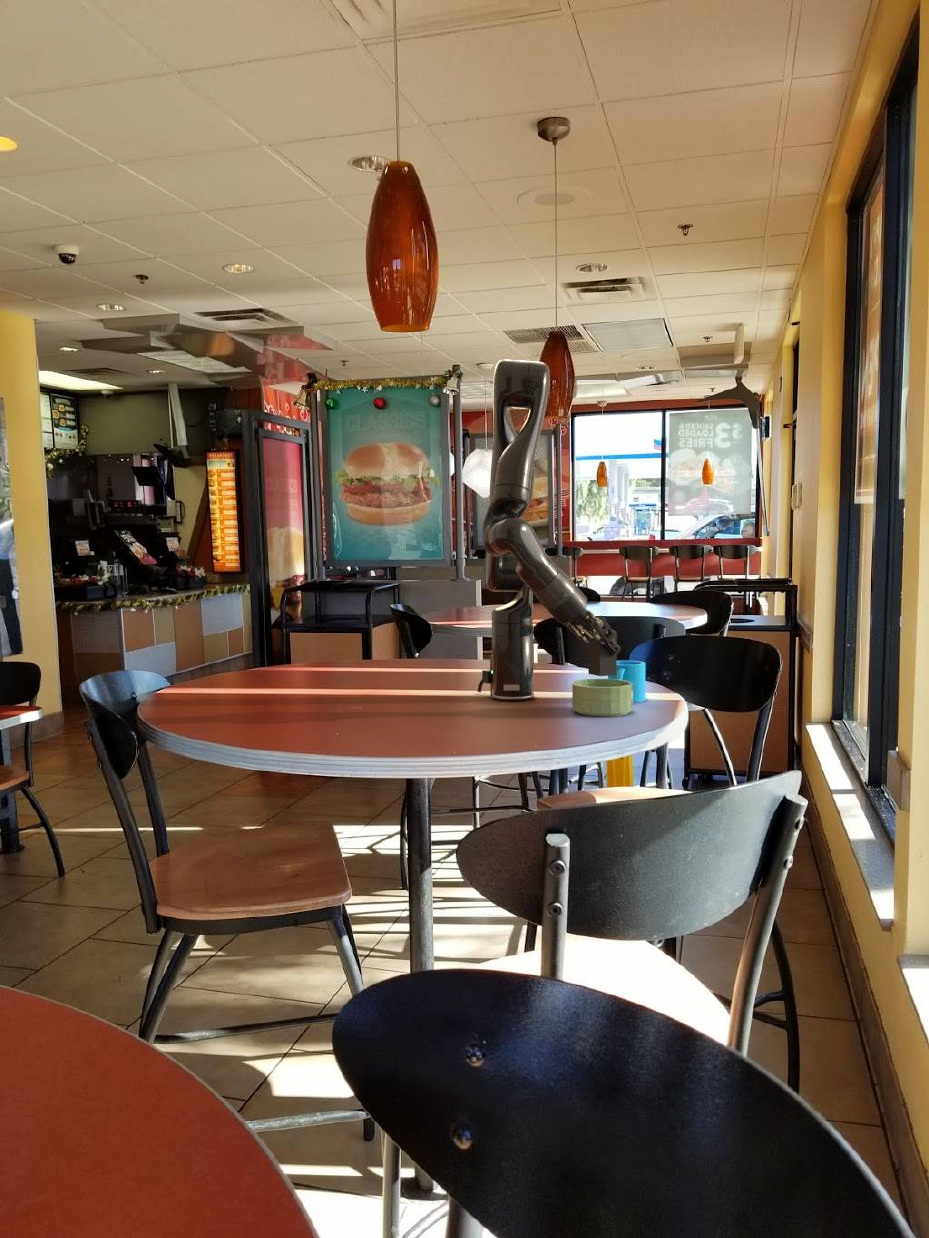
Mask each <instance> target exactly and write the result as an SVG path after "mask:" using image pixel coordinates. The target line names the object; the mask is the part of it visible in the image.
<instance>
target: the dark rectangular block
mask: <svg viewBox="0 0 929 1238" xmlns="http://www.w3.org/2000/svg"><path fill="white" fill-rule="evenodd" d="M595 631H596V630H595V629H594V630H593V631H592V633H594V632H595ZM612 631H613V632H614V634H615V635H614V636H613V637H612V639H613V640H614V641H615V642H616V643H617V644H618V642H617V636H618V635H617V633H618V632H617V630H613V629H612ZM598 636H599V634H598ZM599 637H600V636H599ZM600 638H601V637H600ZM587 647H588V648H587V651H588V652H587V653H588V655H587V656H588V657H587V659H588V662H587V663H588V665H587V666H588V667H587V671H588V673H587V674H588V675H593V676H597V677H608V676H610V675H617V661H618V659H617V658H618V657H617V656H618V655H617V656H612V655H611V654H610V653H609V652H608V650H607V649H606V648H605V647H604V646H603V645H602V644H601V643H600V642H599V641H598V640H597V639H595V638H593V639H592V638H591V637H590V636H589V635H588V644H587Z"/></svg>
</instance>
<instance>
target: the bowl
mask: <svg viewBox="0 0 929 1238" xmlns="http://www.w3.org/2000/svg"><path fill="white" fill-rule="evenodd" d="M571 697H572V698H571V706H572V707H571V709H572V710H573V711H574V712H576V713H577V714H579V715H583V716H587V717H588V716H589V717H604V718H605V717H619V716H624V715H627V714H628V713H629V712H632V711H633V710H634V703H633V683H632V682H630V681H626V680H619V679H608V678H585V679H578V680H574V681H572V682H571Z"/></svg>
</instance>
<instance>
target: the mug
mask: <svg viewBox="0 0 929 1238" xmlns="http://www.w3.org/2000/svg"><path fill="white" fill-rule="evenodd" d="M607 679H619V680H626V681H630V682H632V683H633V704H634V703H642V702H643V703H644V702H645V701H646V662H645V661H642V660H641V661H639V660H617V675H610V676H607Z"/></svg>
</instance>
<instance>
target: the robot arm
mask: <svg viewBox="0 0 929 1238" xmlns="http://www.w3.org/2000/svg"><path fill="white" fill-rule="evenodd" d="M493 373H494V374H493V387H492V389H493V390H492V403H493V405H492V407H493V412H492V413H493V414H492V415H493V438H492V439H493V440H492V442H493V443H492V452H491V454H492V455H491V464H490V476H489V477H490V480H489V505H488V507H487V511H486V513H485V517H484V520H483V522H482V527H481V533H480V536H481V544H482V546H483V549H484V550H485V559H484V573H483V574H484V577H483V578H484V583H485V586H486V588H487V590H489V591H491V592H501V593H503V592H507V593H508V592H517V595H516V597H514V599H512V600H511V601H510V602H508V603H506V604H503V605H501V606H498V607H496V608H494V609H492V612H491V655H490V656H489V669H482V670H481V675H482V676H481V677H482V678H481V679H480V681H479V682H478V686H477V693H482V689H483V685H484V684H487V685H489V686H490V687H489V693H490V697H491V698H492V699H494V700H497V701H507V702H519V701H528V700H532V699H534V698H535V693H534V622H533V621H534V596H535V598H536V600H537V601H538V602H539V603H540V604H541V605H542V607H544V608H545V609H546V611H548V613H549V614H550V615H551V616H552V618H554V619H555V620H556V622H558V623H559V624H562V625H564V627H566V628H567V630H569V631H570V632H571V633H572V634H573V635H574V636H575V637H576V638H577V639H579V640H581V641H582V640H583V641H584V642H585V643H588V635H589V636H590V637H591V638H592V639H593V638H595V639H597V640H598V641H599V642H600V643H601V644H602V645H603V646H604V647H605V648H606V649H607V650H608V652H609V653H610V654H611V655H612V656H618V655H619V653H620V652H621V650H622V649H621V646H620V645H618V642H617V643H616V642H615V641H614V640H613V639H612V637H613V636H614V635H615V634H614V632H613V631H614V630H613V629H612V627H611V626H610V625H609V623H608V621H607V620H606V619H605V617H604V616H603V615H599V616H598V617H596V615H595V614H594V613H593V612H592V611H591V610H588V609H587V605H588V597H587V596H586V595H585V594H584V592H583V591H582V590H581V589H580V588H579V587H578V585H576V584H575V582H574V581H573V580H572V579H571V578H570V576H568V575H567V573H565V572H564V571H563V570H562V569H561V568H560V567H559V566H558V565H557V564H556V563H555V562H554V561H553V559H551V558H550V556H549V555H548V554H547V552H545V549H544V548H543V547H544V546H543V544H542V543H541V540H540V539H539V537H538V535H537V534H536V532H535V530H534V527H532V525H531V524H530V522H528V521H527V520H526V519H524V518H523V517H522V516H524V514H525V513H526V511H527V510H528V508H529V507H530V505H531V503H532V501H533V497H534V485H535V475H536V474H535V466H534V462H535V456H536V452H537V448H538V444H539V441H540V437H541V433H542V427H543V425H544V420H545V419H544V418H545V415H546V411H547V405H548V400H549V395H550V386H551V373H550V368H549V365H548V364H547V363H546V362H542V361H531V360H520V359H519V360H518V359H516V360H514V359H500V360H499V361H498V362H497V363H496V365H495V369H494V372H493ZM511 408H513V409H525V410H526V409H527V410H529V412H528V416H527V418H526V421H525V422H524V424H523V426H522V427H521V429H520V430H519V432H518V433H517V432H516V430H515V427H514V424H513V420H512V417H511V416H512V415H511V410H510V409H511ZM593 630H596V631H595V632H594V633H592V631H593ZM612 630H613V631H612ZM598 634H599V636H600V637H601V638H600V637H599V636H598Z"/></svg>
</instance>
